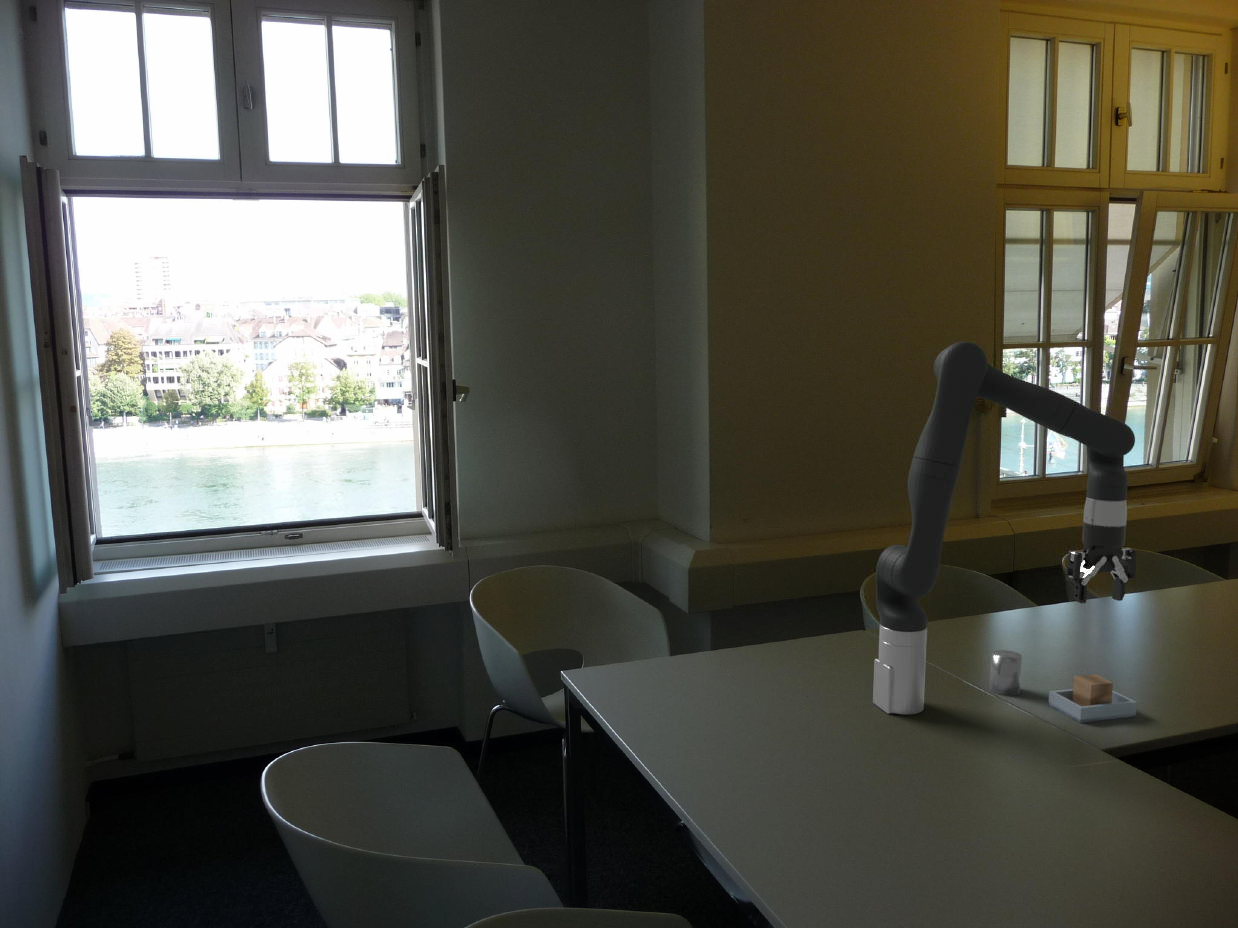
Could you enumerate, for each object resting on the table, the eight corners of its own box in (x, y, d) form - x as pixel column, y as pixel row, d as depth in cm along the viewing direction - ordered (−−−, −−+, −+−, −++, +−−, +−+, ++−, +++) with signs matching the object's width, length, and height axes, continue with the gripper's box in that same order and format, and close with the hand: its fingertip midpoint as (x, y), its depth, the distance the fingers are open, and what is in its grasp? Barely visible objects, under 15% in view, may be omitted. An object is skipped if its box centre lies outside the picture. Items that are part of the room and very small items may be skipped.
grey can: (1001, 696, 200) (1003, 660, 198) (983, 686, 205) (985, 651, 204) (1026, 694, 201) (1028, 657, 200) (1008, 684, 207) (1009, 648, 206)
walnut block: (1089, 713, 189) (1091, 684, 188) (1072, 704, 194) (1073, 676, 193) (1110, 711, 190) (1112, 682, 189) (1093, 702, 195) (1095, 674, 194)
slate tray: (1080, 722, 186) (1081, 708, 186) (1048, 705, 195) (1049, 691, 194) (1135, 716, 189) (1137, 701, 189) (1102, 699, 198) (1103, 685, 198)
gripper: (1087, 526, 181) (1081, 608, 184) (1149, 523, 185) (1143, 603, 187) (1060, 519, 189) (1055, 598, 191) (1121, 515, 192) (1115, 593, 194)
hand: (1099, 601), depth 189 cm, fingers open, 8 cm apart
